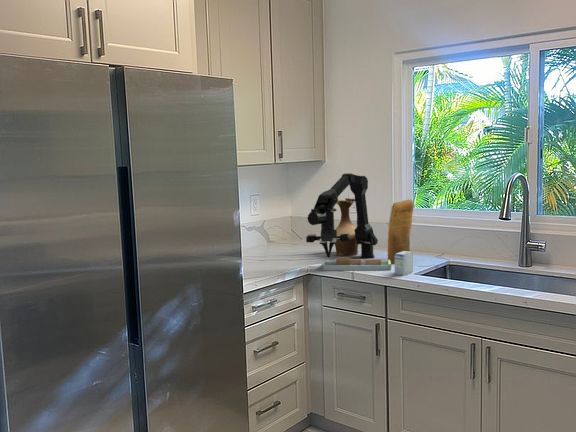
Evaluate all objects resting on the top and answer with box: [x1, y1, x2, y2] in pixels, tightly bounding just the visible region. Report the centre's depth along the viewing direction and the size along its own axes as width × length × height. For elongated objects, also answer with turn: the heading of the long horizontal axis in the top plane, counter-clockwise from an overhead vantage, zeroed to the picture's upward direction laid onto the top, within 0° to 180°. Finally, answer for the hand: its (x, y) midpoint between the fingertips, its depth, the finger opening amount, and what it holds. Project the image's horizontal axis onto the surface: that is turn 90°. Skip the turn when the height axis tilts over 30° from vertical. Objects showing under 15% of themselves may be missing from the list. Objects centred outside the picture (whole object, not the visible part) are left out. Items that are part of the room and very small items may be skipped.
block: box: [335, 256, 351, 265], centre depth 254 cm, size 5×6×4 cm
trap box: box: [320, 258, 392, 271], centre depth 255 cm, size 14×30×2 cm, turn 82°
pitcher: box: [334, 197, 359, 257], centre depth 286 cm, size 18×17×28 cm
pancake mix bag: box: [387, 199, 414, 265], centre depth 262 cm, size 7×19×28 cm, turn 132°
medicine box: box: [394, 251, 414, 276], centre depth 239 cm, size 8×4×9 cm, turn 141°
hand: (328, 257), depth 255 cm, fingers closed
